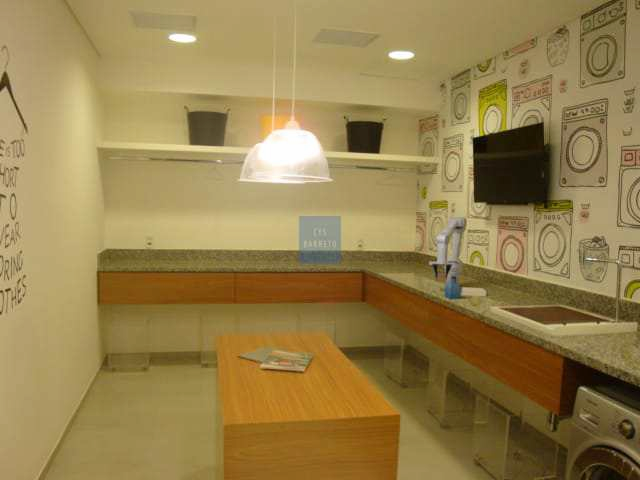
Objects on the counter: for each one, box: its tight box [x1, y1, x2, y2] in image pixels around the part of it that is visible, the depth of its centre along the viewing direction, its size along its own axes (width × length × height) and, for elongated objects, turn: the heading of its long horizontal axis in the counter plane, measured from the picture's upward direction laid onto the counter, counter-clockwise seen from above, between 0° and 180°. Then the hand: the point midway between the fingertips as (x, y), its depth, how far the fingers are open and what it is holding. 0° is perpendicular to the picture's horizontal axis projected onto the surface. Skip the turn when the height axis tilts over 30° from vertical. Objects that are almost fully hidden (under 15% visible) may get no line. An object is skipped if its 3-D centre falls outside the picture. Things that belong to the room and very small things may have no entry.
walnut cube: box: [435, 271, 447, 283], centre depth 306 cm, size 5×5×5 cm
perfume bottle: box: [444, 276, 462, 300], centre depth 288 cm, size 6×6×12 cm
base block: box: [461, 286, 487, 297], centre depth 304 cm, size 12×12×3 cm
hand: (441, 277), depth 306 cm, fingers closed on walnut cube, 5 cm apart
